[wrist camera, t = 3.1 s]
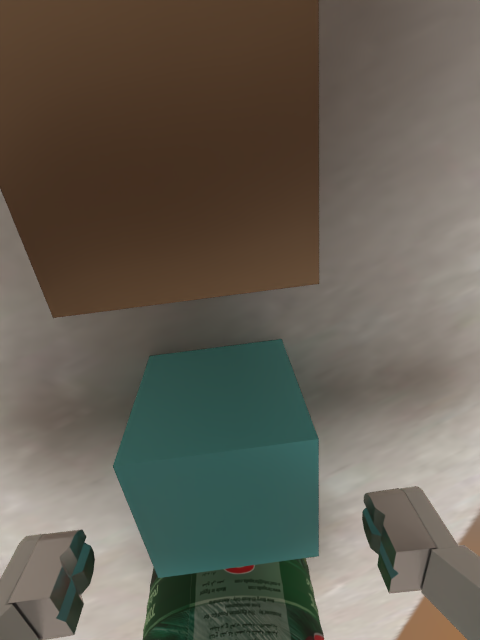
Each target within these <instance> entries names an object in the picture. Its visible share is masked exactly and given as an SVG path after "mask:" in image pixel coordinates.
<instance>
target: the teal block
mask: <svg viewBox="0 0 480 640" xmlns="http://www.w3.org/2000/svg"><path fill="white" fill-rule="evenodd" d="M113 468H114V470H115V473H116V475H117V478H118V480H119V483H120V485H121V488H122V490H123V492H124V495H125V497H126V500H127V502H128V505H129V507H130V510H131V512H132V515H133V517H134V519H135V522H136V524H137V527H138V529H139V532H140V534H141V537H142V539H143V542H144V544H145V546H146V549H147V551H148V554H149V556H150V559H151V561H152V564H153V566H154V569H155V571H156V573H157V576H158V578H163V577H170V576H177V575H184V574H192V573H199V572H206V571H214V570H221V569H228V568H235V567H243V566H250V565H257V564H265V563H272V562H279V561H286V560H294V559H301V558H308V557H316V556H319V439H318V436H317V434H316V431H315V428H314V426H313V423H312V420H311V417H310V415H309V412H308V409H307V407H306V404H305V401H304V398H303V396H302V393H301V390H300V388H299V385H298V382H297V380H296V377H295V374H294V371H293V369H292V366H291V363H290V361H289V358H288V355H287V352H286V350H285V347H284V344H283V342H282V339H279V340H271V341H263V342H255V343H248V344H240V345H232V346H224V347H216V348H209V349H201V350H193V351H185V352H177V353H170V354H162V355H154V356H150V357H149V360H148V363H147V366H146V369H145V372H144V375H143V378H142V381H141V384H140V387H139V390H138V393H137V396H136V399H135V402H134V405H133V408H132V411H131V414H130V417H129V420H128V423H127V426H126V429H125V432H124V435H123V438H122V441H121V444H120V447H119V450H118V453H117V456H116V459H115V462H114V465H113Z"/></svg>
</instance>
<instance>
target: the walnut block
mask: <svg viewBox="0 0 480 640" xmlns="http://www.w3.org/2000/svg"><path fill="white" fill-rule="evenodd" d="M0 189H1V191H2V193H3V196H4V198H5V201H6V203H7V206H8V208H9V211H10V213H11V216H12V218H13V221H14V223H15V225H16V228H17V230H18V233H19V235H20V238H21V240H22V243H23V245H24V248H25V250H26V252H27V255H28V257H29V260H30V262H31V265H32V267H33V270H34V272H35V275H36V277H37V279H38V282H39V284H40V287H41V289H42V292H43V294H44V297H45V299H46V302H47V304H48V306H49V309H50V311H51V314H52V316H53V318H56V317H64V316H72V315H80V314H87V313H95V312H103V311H111V310H118V309H126V308H134V307H142V306H150V305H157V304H165V303H173V302H181V301H189V300H196V299H204V298H212V297H220V296H228V295H235V294H243V293H251V292H259V291H267V290H274V289H282V288H290V287H298V286H305V285H313V284H319V0H0Z"/></svg>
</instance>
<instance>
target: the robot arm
mask: <svg viewBox="0 0 480 640" xmlns="http://www.w3.org/2000/svg"><path fill="white" fill-rule="evenodd" d="M364 503H365V505H366V508H365V509H364V511H363V517H362V520H363V526H364V531H365V534H366V537H367V540H368V542H369V545H370V548H371V549H373V550H374V551H375V552H376V553H377V554H378V555H379V558H378V567H379V570H380V572H381V575H382V577H383V580H384V582H385V584H386V587H387V589H388V592H389V593H398V592H409V591H419V590H422V593H423V594H424V596H425V597H426V598H427V599H429V600H430V602H431V603H432V604H433V605H434V606H435V607H436V608H437V609H438V610H439V611H440V612H441V613H442V614H443V615H444V616H445V617H446V618H447V619H448V620H449V621H450V622H451V623H452V624H453V625H454V626H455V627H456V628H457V629H458V630H459V631H460V632H461V633H462V634H463V635H464V637H465V638H467V640H480V557H479V556H478V555H477V554H475V553H474V552H472V551H471V550H470V549H468V548H467V547H466V546H464V545H461V546H458V544H457V543H456V541H455V540H454V538H453V537H452V535H451V534H450V532H449V530H448V529H447V527H446V526H445V524H444V523H443V521H442V520H441V518H440V516H439V515H438V513H437V512H436V510H435V509H434V507H433V506H432V504H431V503H430V501H429V499H428V498H427V496H426V495H425V493H424V492H423V490H422V489H421V488H419V487H417V486H414V487H407V488H400V489H399V488H396V489H389V490H383V491H376V492H369V493H366V494H365V495H364ZM85 539H86V535H85V534H84V532H83V530H74V531H66V532H58V533H49V534H39V535H31V536H26V537H25V538H24V539H23V540H22V541H21V542H20V543H19V545H18V547H17V549H16V550H15V552H14V554H13V556H12V558H11V560H10V562H9V564H8V566H7V567H6V569H5V571H4V573H3V575H2V577H1V579H0V640H47V639H53V638H59V637H65V636H71V635H74V634H75V630H76V627H77V624H78V621H79V618H80V614H81V611H82V608H83V605H84V603H83V599H82V596H81V594H82V593H83V592H84V591H85V589H86V588H87V587H88V586H89V585H90V582H91V578H92V575H93V570H94V561H95V559H94V552H93V549H92V547H91V546H90V545H88V544H86V543H84V542H85Z"/></svg>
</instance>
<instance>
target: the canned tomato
mask: <svg viewBox="0 0 480 640" xmlns="http://www.w3.org/2000/svg"><path fill="white" fill-rule="evenodd" d="M143 640H324V635H323V631H322V628H321V625H320V620H319V615H318V609H317V606H316V602H315V598H314V592H313V587H312V584H311V581H310V576H309V569H308V565H307V562H306V558H301V559H294V560H286V561H279V562H272V563H265V564H257V565H250V566H243V567H235V568H228V569H221V570H214V571H206V572H199V573H192V574H184V575H177V576H170V577H163V578H158V576H157V573H156V571H155V569H154V568H153V574H152V580H151V584H150V595H149V600H148V604H147V614H146V621H145V625H144V630H143Z"/></svg>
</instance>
